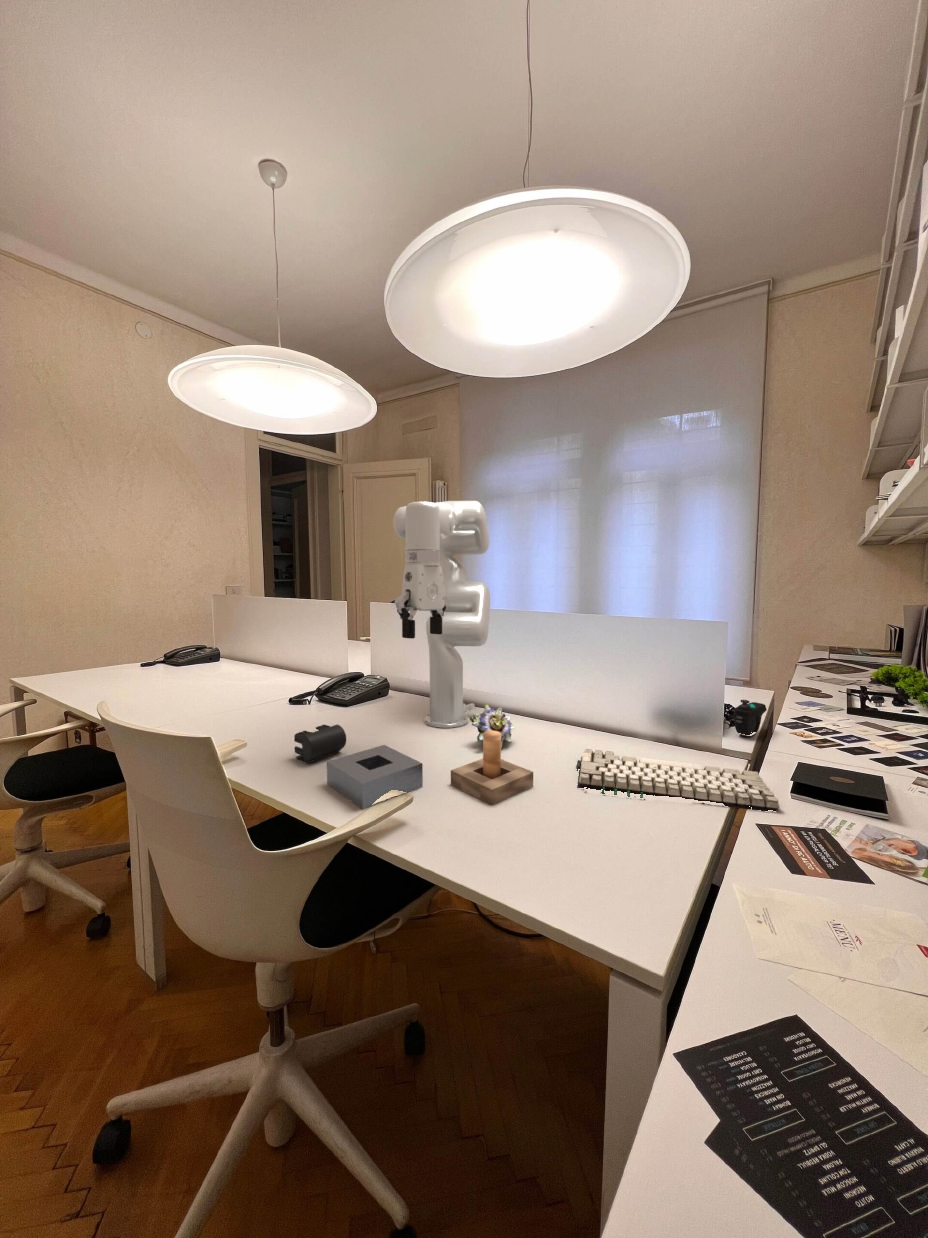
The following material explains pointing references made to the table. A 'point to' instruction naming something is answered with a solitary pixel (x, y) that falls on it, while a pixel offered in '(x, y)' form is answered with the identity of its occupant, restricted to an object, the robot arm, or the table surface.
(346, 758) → the socket block
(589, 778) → the mechanical keyboard
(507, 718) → the passion flower
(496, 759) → the pin
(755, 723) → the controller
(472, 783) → the frame
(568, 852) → the table surface
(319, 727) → the end cap
